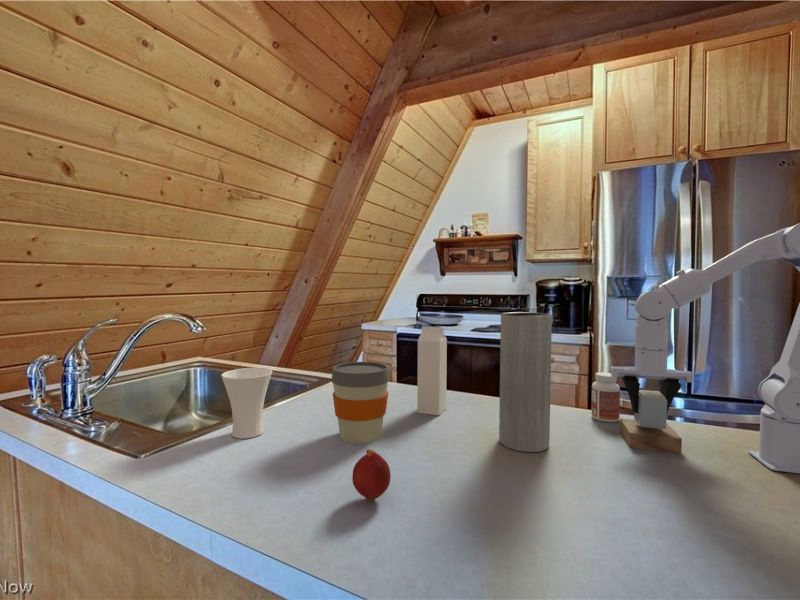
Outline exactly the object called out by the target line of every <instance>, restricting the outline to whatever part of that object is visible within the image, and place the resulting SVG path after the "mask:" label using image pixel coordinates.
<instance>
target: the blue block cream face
mask: <svg viewBox="0 0 800 600" xmlns="http://www.w3.org/2000/svg"><path fill="white" fill-rule="evenodd" d="M633 413H634V412H633ZM633 415H634V416H633V420H636V422H637V423H638V424H639V426H640V427H650V428H660V429H666V423H667V416H668V413H667V399H666V398H665V396H663V395H662V394H661V391H659V390H651V389H650V390H647V389H639V395H638V413H634V414H633Z"/></svg>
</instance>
